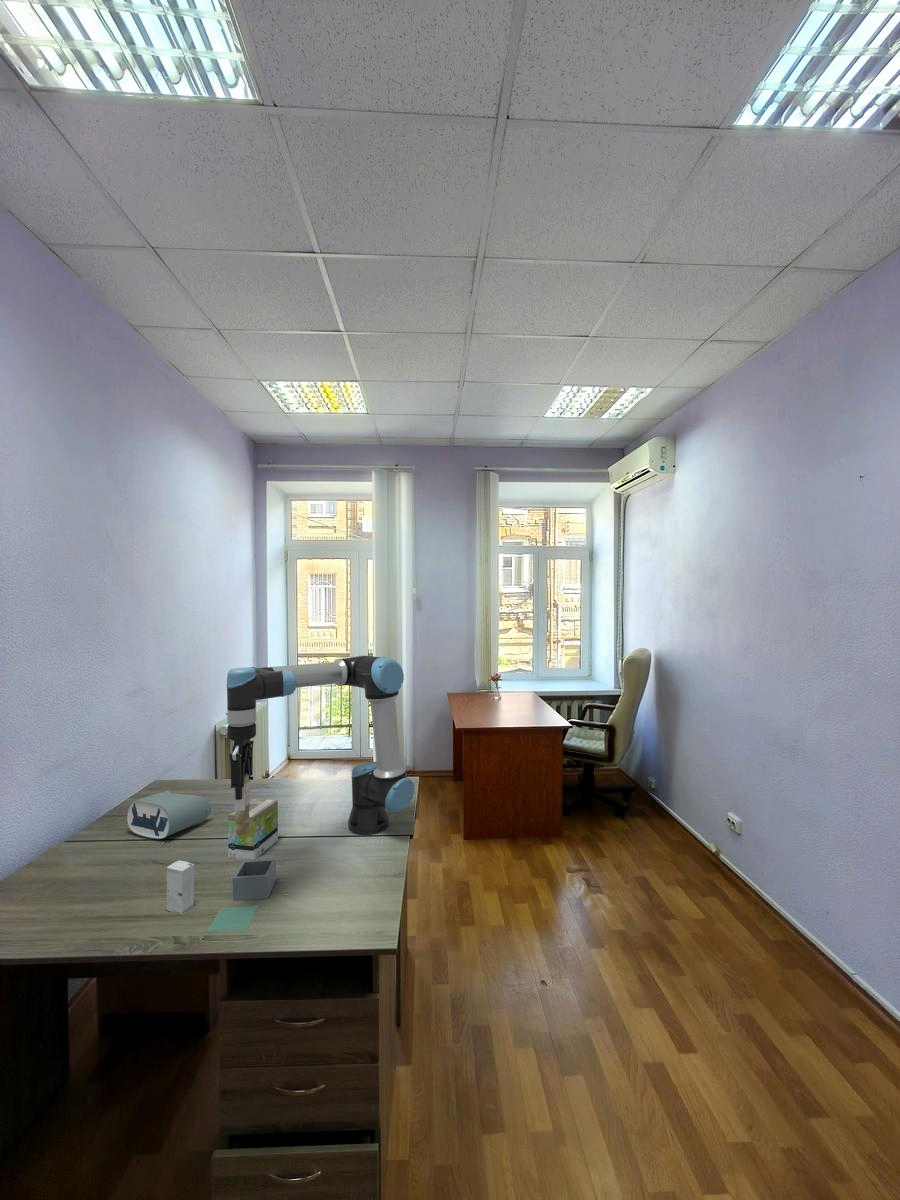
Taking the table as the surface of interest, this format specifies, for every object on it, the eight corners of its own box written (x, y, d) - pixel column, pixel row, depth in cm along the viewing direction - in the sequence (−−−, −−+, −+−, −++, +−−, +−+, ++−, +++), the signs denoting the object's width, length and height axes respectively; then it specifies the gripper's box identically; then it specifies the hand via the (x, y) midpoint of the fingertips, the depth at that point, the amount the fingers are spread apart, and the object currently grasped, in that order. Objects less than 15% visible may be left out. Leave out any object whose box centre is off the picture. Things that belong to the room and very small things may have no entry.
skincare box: (165, 910, 143) (164, 867, 143) (179, 901, 148) (178, 859, 147) (182, 915, 141) (181, 871, 141) (195, 906, 145) (194, 863, 145)
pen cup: (276, 882, 157) (275, 859, 157) (267, 900, 147) (267, 876, 147) (243, 884, 156) (243, 860, 156) (233, 902, 146) (232, 878, 146)
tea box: (255, 861, 169) (254, 816, 169) (227, 859, 171) (226, 814, 171) (279, 840, 184) (278, 798, 184) (253, 838, 186) (252, 797, 186)
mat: (258, 907, 144) (258, 905, 144) (247, 931, 134) (247, 928, 134) (221, 910, 143) (220, 908, 143) (207, 933, 133) (207, 931, 133)
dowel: (251, 829, 147) (250, 773, 147) (247, 835, 144) (246, 777, 144) (238, 829, 147) (237, 773, 147) (233, 835, 143) (233, 777, 143)
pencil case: (125, 834, 191) (126, 798, 191) (170, 815, 208) (171, 783, 209) (168, 843, 182) (169, 806, 183) (212, 824, 200) (212, 790, 200)
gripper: (238, 717, 153) (238, 796, 153) (216, 731, 137) (217, 820, 137) (264, 716, 154) (264, 795, 154) (245, 730, 137) (246, 819, 137)
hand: (242, 807), depth 145 cm, fingers closed on dowel, 3 cm apart
